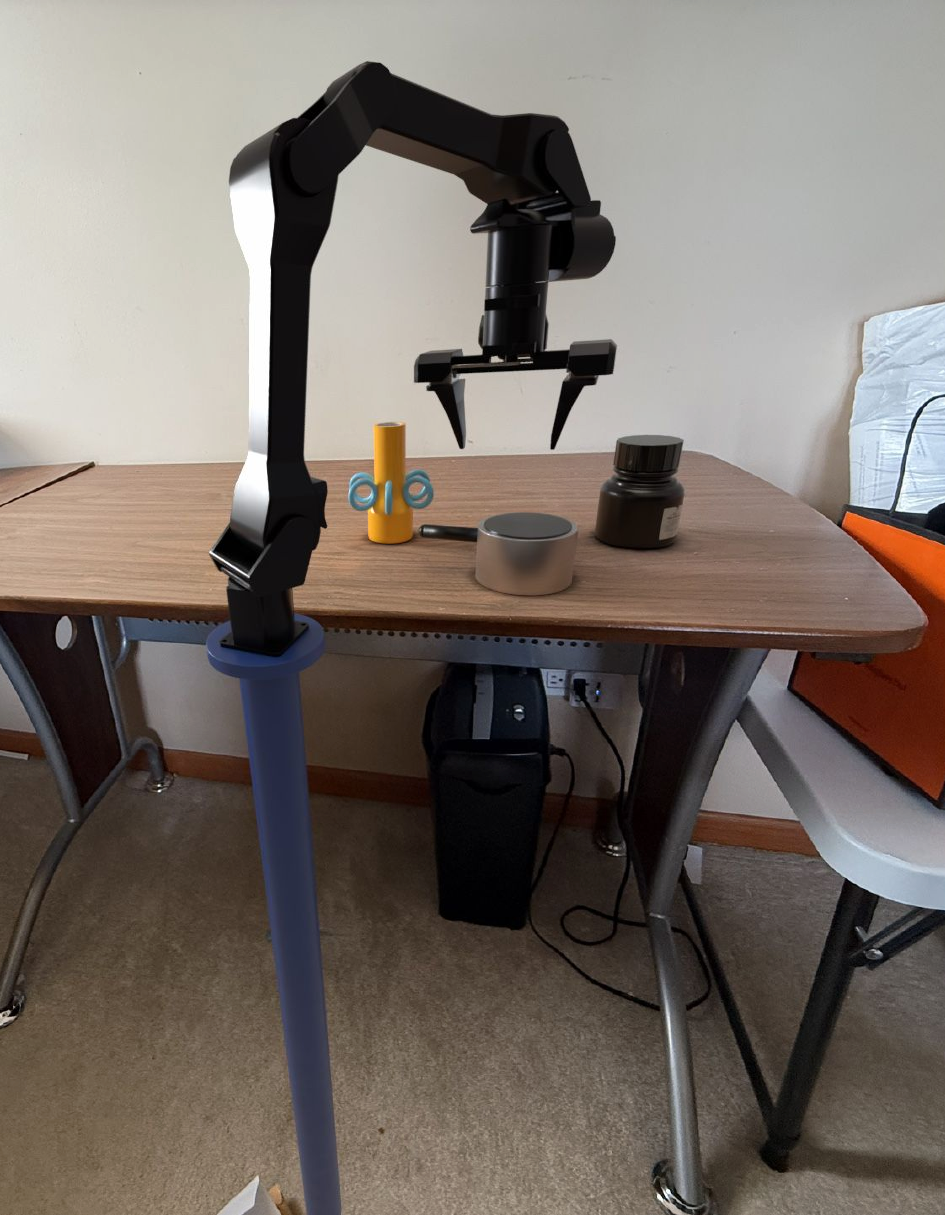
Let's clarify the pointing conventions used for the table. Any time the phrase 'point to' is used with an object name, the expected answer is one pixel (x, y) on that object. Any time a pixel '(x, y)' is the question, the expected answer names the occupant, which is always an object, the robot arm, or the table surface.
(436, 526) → the pot
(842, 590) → the table surface
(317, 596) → the table surface
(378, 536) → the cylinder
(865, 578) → the table surface
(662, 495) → the ink bottle
